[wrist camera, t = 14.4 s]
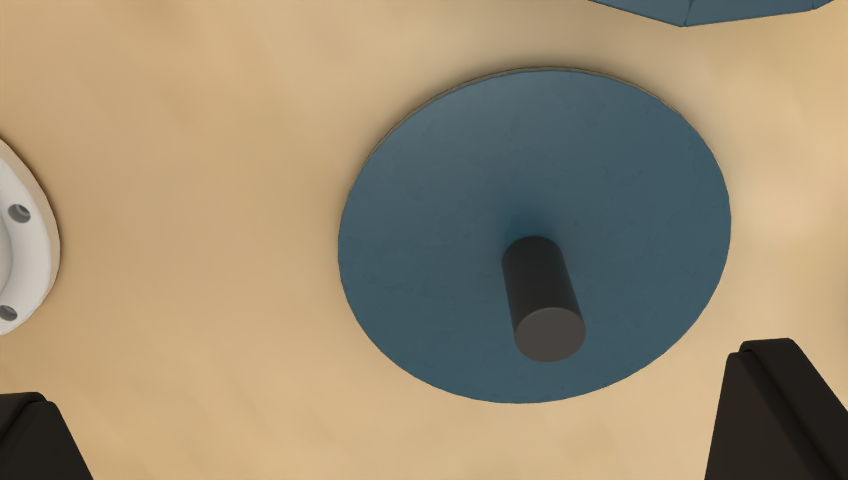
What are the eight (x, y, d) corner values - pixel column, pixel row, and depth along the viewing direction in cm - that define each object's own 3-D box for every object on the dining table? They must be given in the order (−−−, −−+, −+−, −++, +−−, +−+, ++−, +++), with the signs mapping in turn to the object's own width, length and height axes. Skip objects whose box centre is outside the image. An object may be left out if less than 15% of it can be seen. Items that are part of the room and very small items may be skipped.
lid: (705, 371, 34) (756, 470, 28) (374, 402, 35) (365, 503, 30) (742, 34, 25) (825, 87, 20) (303, 90, 26) (272, 154, 21)
